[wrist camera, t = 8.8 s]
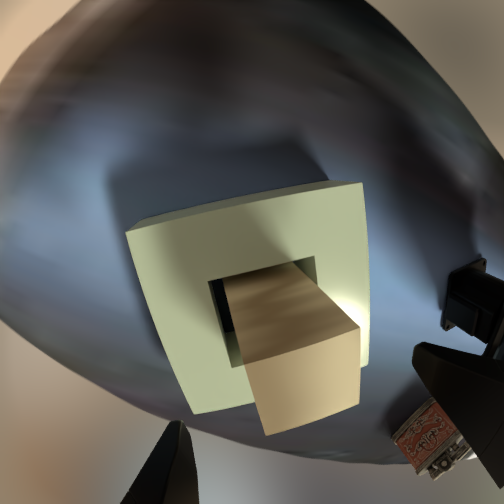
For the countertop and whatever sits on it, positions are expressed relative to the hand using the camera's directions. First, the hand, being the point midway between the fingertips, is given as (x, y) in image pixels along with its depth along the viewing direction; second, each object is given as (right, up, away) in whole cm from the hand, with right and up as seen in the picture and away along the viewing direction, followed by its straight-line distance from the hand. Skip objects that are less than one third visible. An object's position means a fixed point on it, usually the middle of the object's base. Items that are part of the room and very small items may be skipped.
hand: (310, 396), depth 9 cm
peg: (-2, +3, +10) cm, 10 cm away
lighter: (+19, -17, +19) cm, 32 cm away
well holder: (-2, +3, +10) cm, 10 cm away
